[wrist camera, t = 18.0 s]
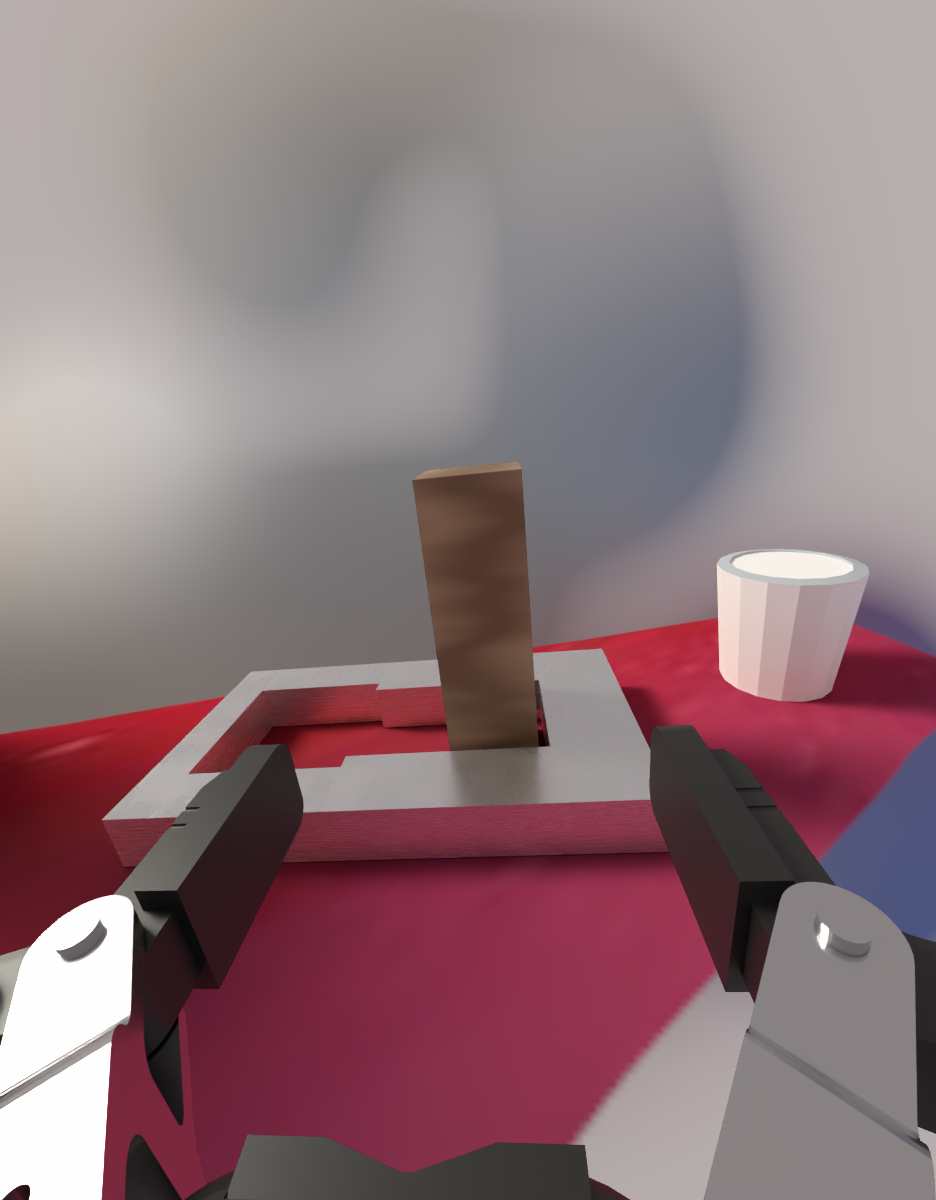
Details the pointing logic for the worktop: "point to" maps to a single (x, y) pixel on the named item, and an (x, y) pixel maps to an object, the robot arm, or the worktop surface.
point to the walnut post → (480, 603)
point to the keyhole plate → (424, 769)
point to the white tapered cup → (786, 620)
